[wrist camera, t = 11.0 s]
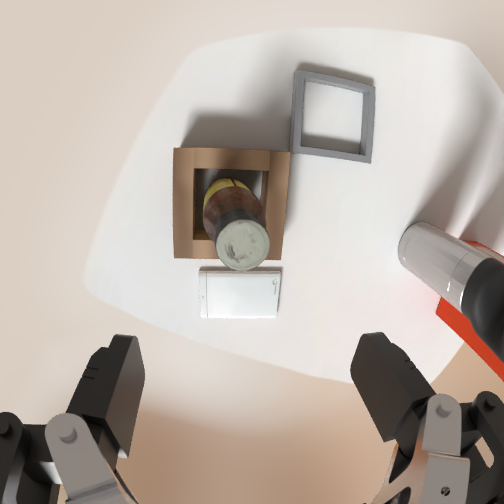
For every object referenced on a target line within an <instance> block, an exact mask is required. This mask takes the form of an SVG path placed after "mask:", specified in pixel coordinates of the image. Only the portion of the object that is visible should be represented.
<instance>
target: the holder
mask: <svg viewBox="0 0 504 504" xmlns="http://www.w3.org/2000/svg"><path fill="white" fill-rule="evenodd" d="M290 154H291V152H280V151H267V150H252V149H233V148H174V153H173V244H174V258H192V259H220V258H219V257H218V255H217V252H216V249H215V243H214V242H213V241H212V240H211V239H210V237H209V236H208V234H207V232H206V230H205V229H196V188H197V168H211V169H242V170H261V171H263V174H262V189H261V205H262V207H263V209H264V212H265V218H266V230H267V232H268V234H269V237H270V250H269V252H268V255H267V257H266V258H265V260H281V253H282V244H283V234H284V224H285V213H286V202H287V191H288V179H289V167H290Z"/></svg>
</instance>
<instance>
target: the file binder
mask: <svg viewBox="0 0 504 504" xmlns="http://www.w3.org/2000/svg"><path fill="white" fill-rule="evenodd" d="M463 242H465V243H467V244H469V245H471V246H473V247H475V248H476V249H478V250H480V251H482V252H484V253H486V254H487V255H489V256H491V257H493V258H494V259H496V260H498V261H499V262H501V263H503V264H504V256H502V255H500V254H499V253H497V252H495V251H493V250H491V249H489V248H487V247H486V246H484V245H482V244H480V243H478V242H473V241H463ZM436 315H437V316H439V317H440V318H441V319H442V320H443V321H444V322H445V323H446V324H447V325H448V326H449V327H450V328H451V329H452V330H454V331H455V332H456V333H457V334H458V335H459V336H460V337H461V338H462V339H463V340H464V341H465V342H466V343H467V344H468V345H469V346H470V347H471V348H472V349H473V350H474V351H475V352H476V353H477V354H478V355H479V356H480V357H481V358H482V359H483V360H484V361H485V362H486V363H487V364H488V365H489V366H490V367H491V369H492V370H493V371H494V372H495V373H496V374H497V375H498V376H499V377H500V378H501V379H502V380H503V381H504V363H503V362H502V361H501V360H500V359H499V358H498V357H497V356H496V355H495V354H494V353H493V352H492V350H491V349H490V348H489V347H488V346H487V345H486V344H485V343H484V342H483V341H482V340H481V339H480V337H479V336H478V335H477V334H476V333H475V331H474V329H473V327H472V325H471V323H470V321H469V319H468V318H467V317H465V316H464V315H463V314H462V313H461V312H460V311H459V310H457V309H456V308H455V307H454V306H453V305H451V304H450V303H449V302H448V301H447V300H445V299H444V298H443V297H441V300H440V303H439V306H438V308H437V311H436Z"/></svg>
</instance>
